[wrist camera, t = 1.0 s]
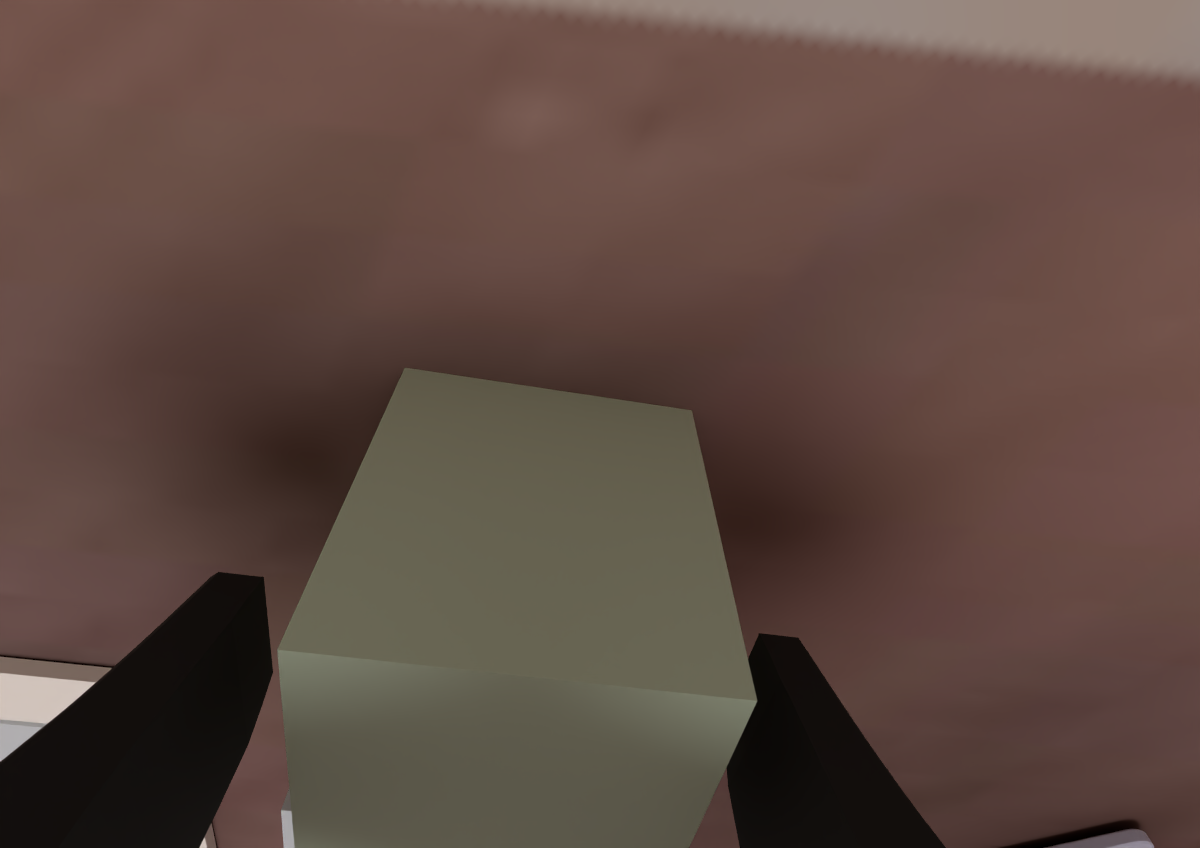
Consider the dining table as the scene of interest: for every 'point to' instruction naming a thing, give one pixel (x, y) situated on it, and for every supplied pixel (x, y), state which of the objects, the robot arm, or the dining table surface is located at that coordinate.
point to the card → (43, 700)
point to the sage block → (515, 630)
